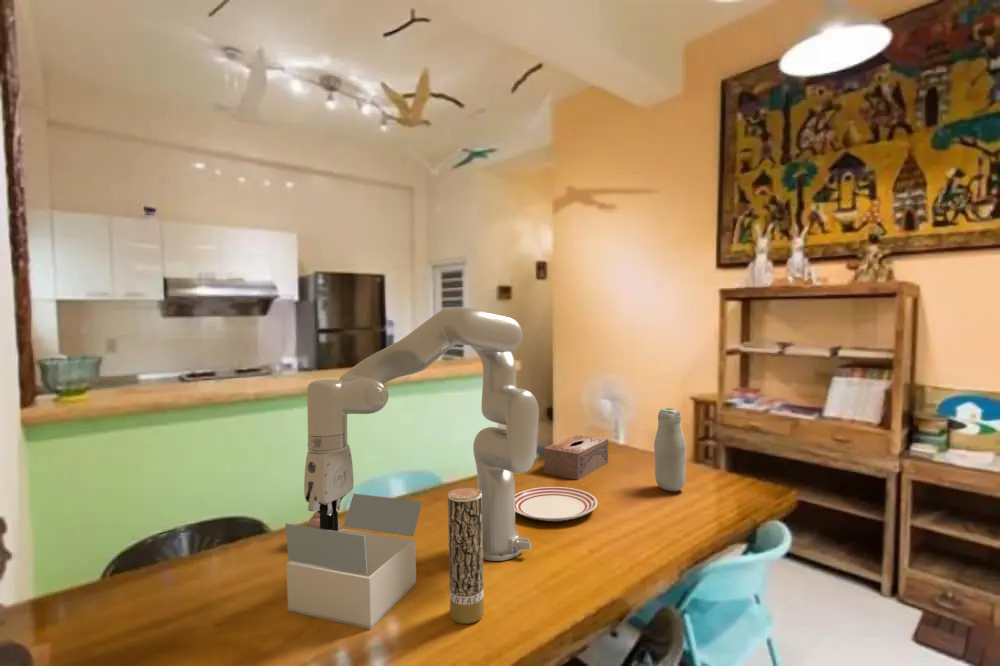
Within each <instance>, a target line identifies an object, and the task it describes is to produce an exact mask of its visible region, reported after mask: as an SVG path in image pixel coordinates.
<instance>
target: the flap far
mask: <svg viewBox="0 0 1000 666" xmlns="http://www.w3.org/2000/svg"><path fill="white" fill-rule="evenodd" d="M352 494H353V495H352V497H351V501H350V504H349V507H348V510H347V513H346V517H345V520H344V521H343V522H344V523H343V527H344V528H352V529H357V530H358V529H359V530H364V531H371V532H372V531H373V532H380V533H384V534H385V533H386V534H392V535H399V536H405V537H414V536H415V535H414V534H415V531H416V527H417V523H418V519H419V516H420V512H421V508H422V505H423V501H418V500H410V499H403V498H394V497H386V496H378V495H369V494H360V493H352Z"/></svg>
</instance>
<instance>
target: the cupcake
mask: <svg viewBox="0 0 1000 666" xmlns="http://www.w3.org/2000/svg"><path fill="white" fill-rule="evenodd" d="M342 524H343V523H342V522H340V519H338V531H339V530H340V529H341V527H342ZM307 527H313V528H320V514H318V513H317V511H315V512H314V513H313V515H312V516H311V517H310V519H309V520H308V524H307Z"/></svg>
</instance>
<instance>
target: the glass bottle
mask: <svg viewBox="0 0 1000 666" xmlns="http://www.w3.org/2000/svg"><path fill="white" fill-rule="evenodd" d="M681 417H682V416H681V412H680V411H679V410H678V409H675V408H674V407H672V408H671V407H663V408H662V409H660V410H659V412H658V415H657V421H658V422H657V425H658V426H657V431H656V434H655V439H654V443H653V444H654V445H653V448H654V449H653V450H654V451H653V453H654V454H653V455H654V474H655V475H654V476H655V482H656V483H657V486H658V487H659V488H660V489H662V490H664V491H667V492H671V493H672V492H673V493H674V492H679V491H681V490H682V489H683V488H684V486H685V484H686V479H687V478H686V477H687V474H686V473H687V471H686V470H687V468H686V467H687V443H686V439H685V436H684V432H683V427H682V424H681V420H682V418H681Z"/></svg>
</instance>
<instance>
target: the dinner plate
mask: <svg viewBox="0 0 1000 666" xmlns="http://www.w3.org/2000/svg"><path fill="white" fill-rule="evenodd" d="M597 506H598V500H597V498H596V497H595V496H594V495H593V494H591V493H589V492H588V491H587V492H586V491H584V490H581V489H577V488H572V487H565V486H564V487H562V486H545V487H542V486H541V487H534V488H533V487H532V488H529V489H525V490H523V491H519V492H517V493H515V513H517V514H520V515H521V516H524V517H526V518H529V519H534V520H537V519H538V520H539V521H542V520H545V521H544V522H564V521H563V520H565V521H569V519H570V520H575V519H577V518H581V517H583V516H585V515H588V514H589V513H591V512H592V511H594V510H595V509H596V508H597ZM538 520H537V521H538Z"/></svg>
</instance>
